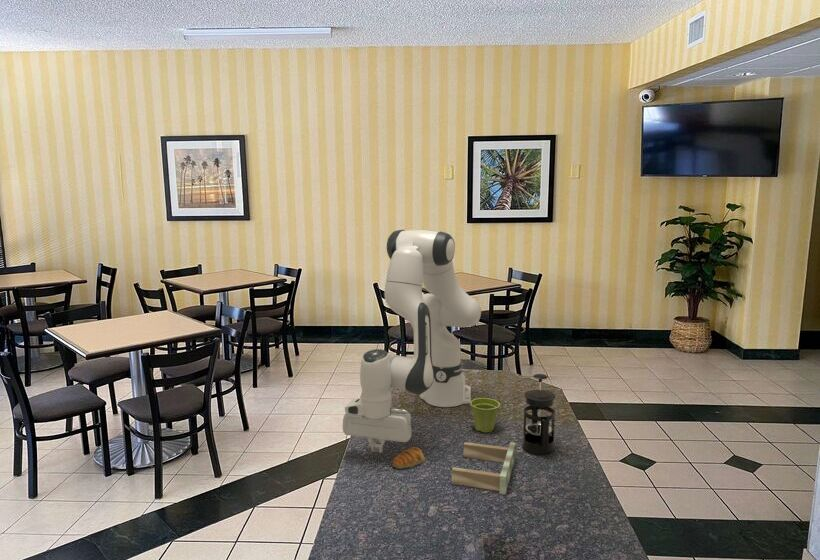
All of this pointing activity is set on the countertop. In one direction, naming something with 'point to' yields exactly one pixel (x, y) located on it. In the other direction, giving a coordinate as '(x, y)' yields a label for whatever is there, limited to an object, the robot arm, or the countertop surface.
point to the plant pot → (484, 413)
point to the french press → (543, 429)
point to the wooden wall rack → (486, 478)
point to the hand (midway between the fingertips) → (377, 451)
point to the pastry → (408, 458)
